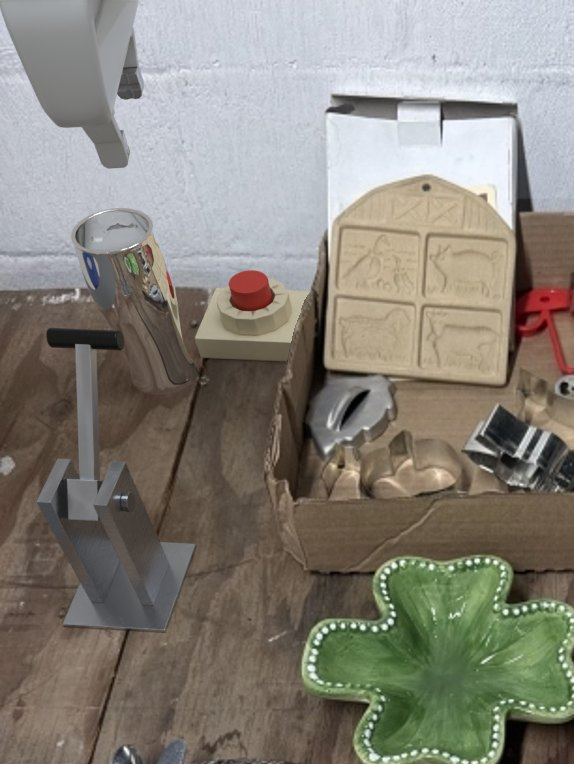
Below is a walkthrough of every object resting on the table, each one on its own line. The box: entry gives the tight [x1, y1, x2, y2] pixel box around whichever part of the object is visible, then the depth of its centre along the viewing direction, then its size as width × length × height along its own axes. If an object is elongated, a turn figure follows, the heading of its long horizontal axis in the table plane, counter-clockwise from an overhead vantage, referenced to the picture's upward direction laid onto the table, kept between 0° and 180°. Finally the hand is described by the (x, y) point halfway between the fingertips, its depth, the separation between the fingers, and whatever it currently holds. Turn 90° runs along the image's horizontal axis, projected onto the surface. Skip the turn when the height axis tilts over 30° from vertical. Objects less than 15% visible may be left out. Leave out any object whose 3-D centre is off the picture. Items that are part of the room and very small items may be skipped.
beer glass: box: [70, 207, 200, 396], centre depth 93 cm, size 7×7×15 cm
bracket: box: [36, 458, 197, 633], centre depth 80 cm, size 9×8×12 cm
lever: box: [45, 327, 124, 521], centre depth 75 cm, size 13×5×2 cm
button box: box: [194, 277, 310, 362], centre depth 102 cm, size 10×8×4 cm
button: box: [228, 269, 272, 311], centre depth 100 cm, size 4×4×2 cm
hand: (125, 127), depth 75 cm, fingers open, 8 cm apart
